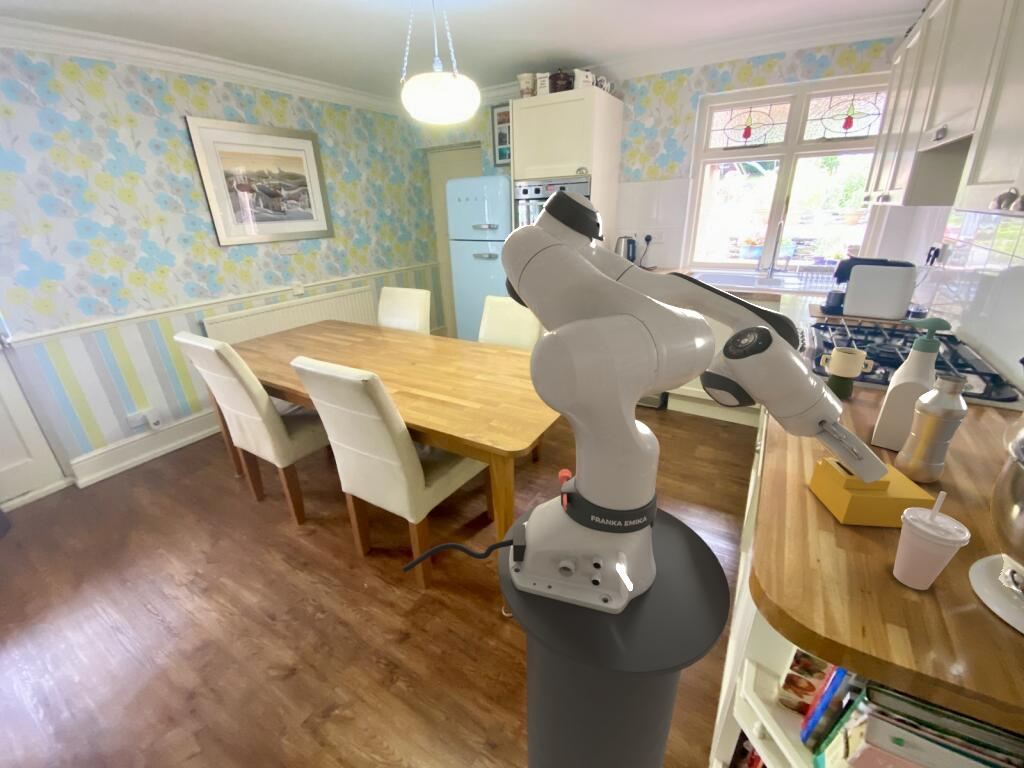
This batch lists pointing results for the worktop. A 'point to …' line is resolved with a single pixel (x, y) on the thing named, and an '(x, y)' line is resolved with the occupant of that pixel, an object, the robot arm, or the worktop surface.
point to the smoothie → (927, 544)
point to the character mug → (845, 369)
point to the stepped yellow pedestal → (867, 495)
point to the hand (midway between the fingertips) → (855, 464)
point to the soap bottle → (909, 386)
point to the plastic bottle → (932, 430)
